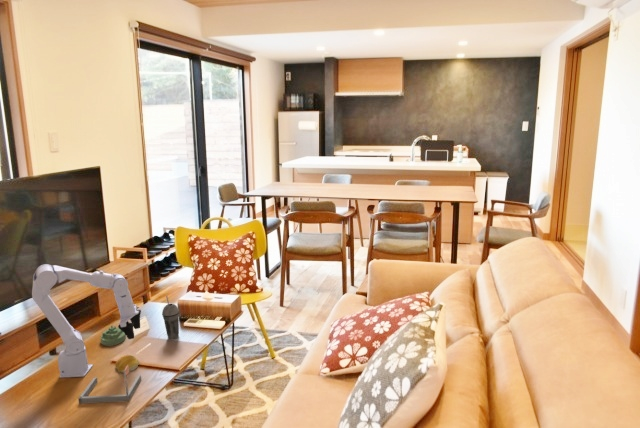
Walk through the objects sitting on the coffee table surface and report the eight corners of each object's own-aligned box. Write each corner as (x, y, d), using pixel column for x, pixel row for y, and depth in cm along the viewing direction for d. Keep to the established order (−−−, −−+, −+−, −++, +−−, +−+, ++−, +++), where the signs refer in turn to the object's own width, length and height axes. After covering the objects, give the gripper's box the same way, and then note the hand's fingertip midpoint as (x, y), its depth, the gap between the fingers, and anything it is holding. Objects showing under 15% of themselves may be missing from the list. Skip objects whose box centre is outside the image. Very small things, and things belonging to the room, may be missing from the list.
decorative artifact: (130, 338, 209) (117, 333, 215) (128, 323, 208) (115, 318, 213) (109, 348, 201) (96, 342, 207) (107, 333, 200) (94, 327, 205)
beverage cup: (185, 335, 210) (181, 293, 206) (172, 342, 204) (167, 299, 200) (174, 332, 214) (169, 290, 209) (161, 338, 208) (156, 296, 203)
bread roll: (121, 376, 180) (120, 366, 179) (113, 366, 187) (112, 357, 186) (142, 367, 185) (141, 358, 185) (134, 359, 192) (133, 350, 191)
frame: (79, 403, 163) (74, 373, 161) (94, 382, 176) (90, 353, 173) (129, 401, 164) (125, 370, 161) (141, 379, 177) (137, 351, 174)
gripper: (128, 311, 182) (138, 341, 186) (140, 293, 196) (149, 322, 200) (110, 314, 182) (120, 344, 186) (123, 296, 196) (133, 325, 200)
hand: (134, 333), depth 193 cm, fingers open, 7 cm apart
